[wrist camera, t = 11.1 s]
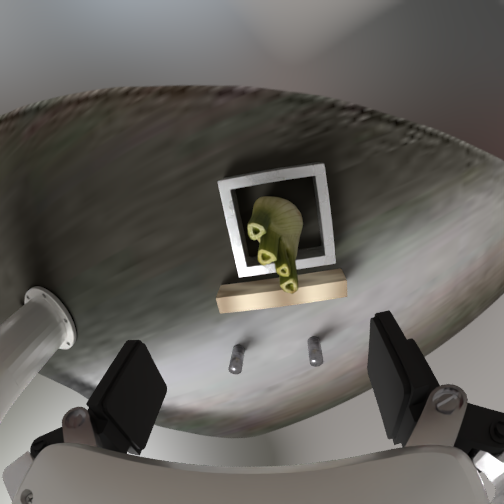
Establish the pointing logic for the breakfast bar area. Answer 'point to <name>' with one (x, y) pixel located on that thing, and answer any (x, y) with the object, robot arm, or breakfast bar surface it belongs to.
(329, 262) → the frame
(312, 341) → the pegs
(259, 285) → the door edge rail
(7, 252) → the breakfast bar surface
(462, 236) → the breakfast bar surface
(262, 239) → the fennel bulb
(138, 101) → the breakfast bar surface
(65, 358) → the breakfast bar surface
